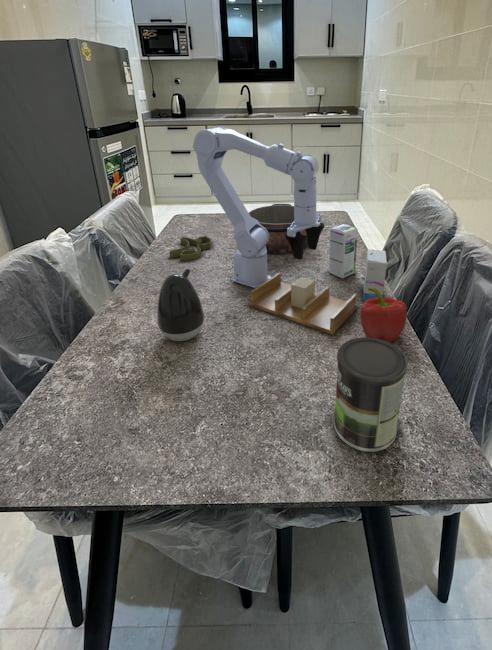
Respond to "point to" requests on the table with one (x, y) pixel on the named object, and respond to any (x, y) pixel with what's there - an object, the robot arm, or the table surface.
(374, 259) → the ink box
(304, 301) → the block
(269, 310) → the dish rack
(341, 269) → the syrup box
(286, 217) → the cooking pot
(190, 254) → the cookie cutter
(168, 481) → the table surface
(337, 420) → the coffee can
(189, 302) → the black rounded egg shape
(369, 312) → the vegetable
